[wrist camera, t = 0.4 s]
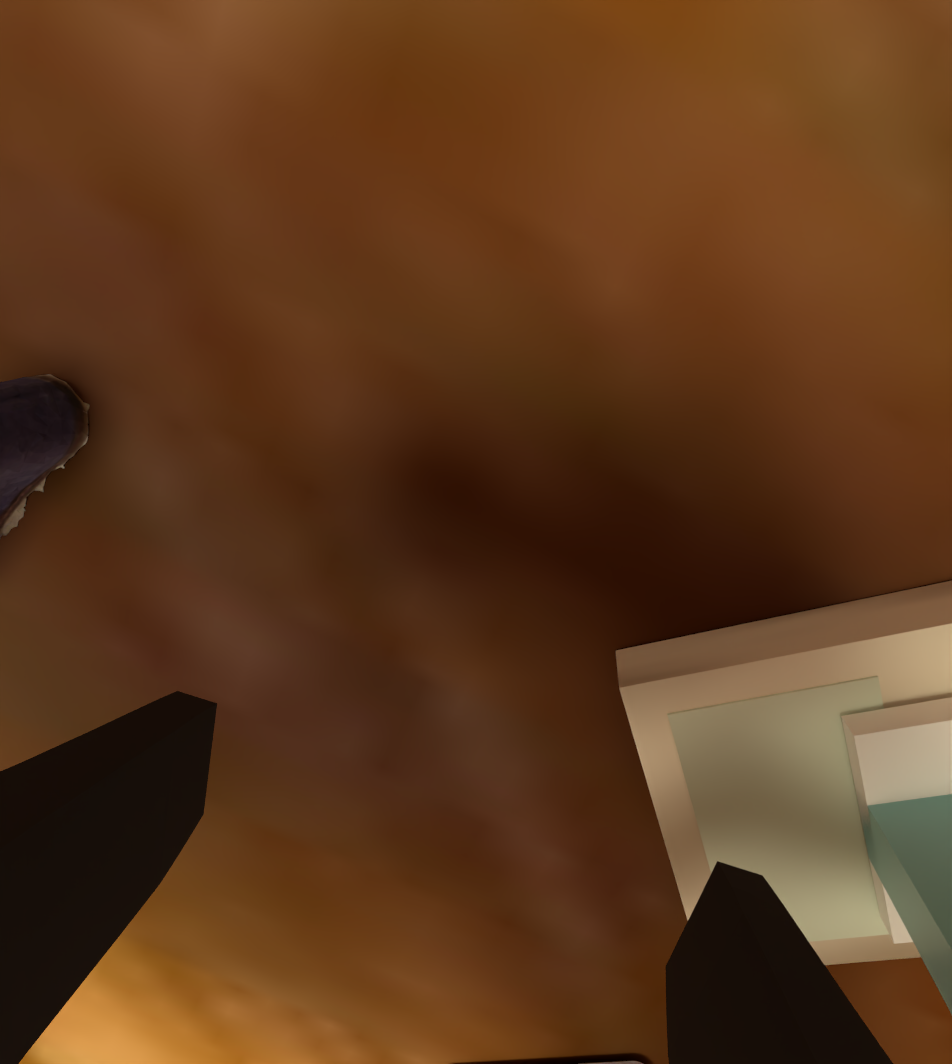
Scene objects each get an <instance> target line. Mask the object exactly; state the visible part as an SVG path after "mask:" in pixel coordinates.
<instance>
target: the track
mask: <svg viewBox="0 0 952 1064" xmlns="http://www.w3.org/2000/svg"><path fill="white" fill-rule="evenodd" d="M616 662H617V672H618V682H619V689H620V693H621V696H622V699H623V703H624V706H625V710H626V713H627V716H628V720H629V723H630V727H631V730H632V733H633V737H634V740H635V744H636V747H637V750H638V754H639V757H640V761H641V764H642V767H643V771H644V774H645V777H646V781H647V784H648V788H649V791H650V794H651V798H652V801H653V805H654V808H655V811H656V815H657V818H658V822H659V825H660V828H661V832H662V835H663V839H664V842H665V845H666V849H667V852H668V856H669V859H670V862H671V866H672V869H673V872H674V876H675V879H676V883H677V886H678V889H679V893H680V896H681V900H682V903H683V906H684V910H685V913H686V917H687V920H689V918H690V916H691V914H692V912H693V910H694V908H695V906H696V904H697V902H698V900H699V897H700V895H701V893H702V891H703V889H704V887H705V885H706V883H707V881H708V879H709V877H710V875H711V873H712V871H713V869H714V867H715V865H716V863H717V861H719V862H722V863H725V864H728V865H731V866H734V867H738V868H741V869H744V870H747V871H750V872H754V873H757V874H760V875H763V877H764V878H765V879H766V881H767V882H768V884H769V885H770V886H771V888H772V889H773V890H774V892H775V893H776V895H777V896H778V898H779V899H780V900H781V902H782V903H783V905H784V906H785V908H786V909H787V911H788V912H789V914H790V915H791V916H792V918H793V919H794V921H795V922H796V924H797V925H798V927H799V928H800V930H801V931H802V933H803V934H804V936H805V937H806V939H807V940H808V942H809V943H810V944H811V946H812V947H813V949H814V950H815V952H816V953H817V955H818V956H819V958H820V959H821V961H822V962H823V964H824V965H833V964H844V963H856V962H868V961H880V960H892V959H904V958H916V957H921V956H920V954H919V952H918V950H917V948H916V946H915V944H914V942H909V943H897V944H894V943H893V941H892V939H891V937H890V935H889V933H888V931H887V929H886V927H885V925H884V923H883V921H882V919H881V917H880V913H879V907H878V902H877V897H876V892H875V887H874V882H873V877H872V872H871V867H870V861H869V856H868V851H867V846H866V841H865V836H864V831H863V826H862V821H861V815H860V810H859V805H858V800H857V795H856V790H855V785H854V780H853V775H852V769H851V764H850V759H849V754H848V749H847V744H846V739H845V734H844V729H843V723H842V718H841V716H844V715H850V714H856V713H862V712H868V711H874V710H880V709H885V708H891V707H897V706H903V705H909V704H915V703H921V702H927V701H933V700H939V699H944V698H950V697H952V581H947V582H942V583H937V584H933V585H928V586H923V587H918V588H913V589H909V590H904V591H899V592H894V593H889V594H885V595H880V596H875V597H870V598H865V599H861V600H856V601H851V602H846V603H841V604H837V605H832V606H827V607H822V608H817V609H813V610H808V611H803V612H798V613H793V614H789V615H784V616H779V617H774V618H769V619H765V620H760V621H755V622H750V623H745V624H741V625H736V626H731V627H726V628H721V629H717V630H712V631H707V632H702V633H697V634H693V635H688V636H683V637H678V638H673V639H669V640H664V641H659V642H654V643H649V644H644V645H640V646H635V647H630V648H625V649H620V650H616Z"/></svg>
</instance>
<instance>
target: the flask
mask: <svg viewBox="0 0 952 1064" xmlns="http://www.w3.org/2000/svg"><path fill="white" fill-rule="evenodd" d="M89 406H90V405H89V404H87V403H84V402H83V401H82V400H81V399H80V398H79V396H78V395H77V394H76V393H75V391H73V389H72V388H71V387H70V386H69V385H68V384H67V382H65V381H63V380H60V379H58V378H56V377H54V376H53V375H50V374H47V375H37V376H32V377H23V378H19V379H14V380H10V381H5V382H0V537H1V536H2V535H4V536H6V535H7V534H8V533H9V532H10V530H11V529H12V528H13V527H17V526H18V521H19V520H20V519H21V518H22V517H23V516H24V511H26V510H25V509H24V508H23V507H25V506H26V504H25V503H26V500H27V499H26V497H27V496H29V494H30V493H32V492H33V491H34V490H35V491H42V492H44V491H43V486H44V485H45V480H46V476H47V475H48V474H49V473H50V472H51V471H53V470H56V469H58V468H60V467H61V468H65V467H64V466H63V465H64V464H65V463H66V461H68V459H70V458H71V457H73V456H74V455H75V453H76V452H77V451H78V450H79V449H80V447H82V446H83V445H85V444H86V442H87V440H88V436H87V435H88V425H87V423H88V415H87V412H88V409H89ZM0 539H1V538H0Z"/></svg>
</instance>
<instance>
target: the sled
mask: <svg viewBox="0 0 952 1064" xmlns="http://www.w3.org/2000/svg"><path fill="white" fill-rule="evenodd" d="M841 718H842V723H843V729H844V734H845V739H846V744H847V749H848V754H849V759H850V764H851V769H852V775H853V780H854V785H855V790H856V795H857V800H858V805H859V810H860V815H861V821H862V826H863V831H864V836H865V841H866V846H867V851H868V856H869V861H870V867H871V872H872V877H873V882H874V887H875V892H876V897H877V902H878V907H879V913H880V917H881V919H882V921H883V923H884V925H885V927H886V929H887V931H888V933H889V935H890V937H891V939H892V941H893V943H894V944H897V943H909V942H914V944H915V946H916V948H917V950H918V952H919V954H920V956H921V957H922V959H923V961H924V963H925V965H926V967H927V969H928V971H929V972H930V974H931V976H932V978H933V980H934V982H935V984H936V986H937V988H938V989H939V991H940V993H941V995H942V997H943V999H944V1001H945V1003H946V1005H947V1006H948V1008H949V1010H950V1012H951V1014H952V697H950V698H944V699H939V700H933V701H927V702H921V703H915V704H909V705H903V706H897V707H891V708H885V709H880V710H874V711H868V712H862V713H856V714H850V715H844V716H841Z"/></svg>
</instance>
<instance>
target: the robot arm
mask: <svg viewBox="0 0 952 1064" xmlns="http://www.w3.org/2000/svg"><path fill="white" fill-rule="evenodd" d="M216 707H217V703H214V702H210V701H207V700H204V699H201V698H198V697H195V696H191V695H188V694H185V693H182V692H179V691H176V692H174V693H172V694H170V695H167V696H165V697H163V698H160V699H158V700H156V701H154V702H152V703H149V704H147V705H145V706H143V707H141V708H139V709H137V710H134V711H132V712H130V713H128V714H126V715H124V716H122V717H120V718H117V719H115V720H113V721H111V722H109V723H107V724H105V725H103V726H100V727H98V728H96V729H94V730H92V731H90V732H88V733H85V734H83V735H81V736H79V737H77V738H74V739H72V740H70V741H68V742H66V743H63V744H61V745H59V746H57V747H55V748H52V749H50V750H48V751H46V752H44V753H41V754H39V755H37V756H35V757H33V758H30V759H28V760H26V761H24V762H22V763H19V764H17V765H15V766H12V767H10V768H8V769H5V770H3V771H0V1064H19V1062H20V1061H21V1060H22V1058H23V1057H24V1056H25V1054H26V1053H27V1052H28V1050H29V1049H30V1048H31V1047H32V1045H33V1044H34V1043H35V1042H36V1040H37V1039H38V1038H39V1037H40V1035H41V1034H42V1033H43V1031H44V1030H45V1029H46V1028H47V1026H48V1025H49V1024H50V1023H51V1021H52V1020H53V1019H54V1018H55V1016H56V1015H57V1014H58V1013H59V1011H60V1010H61V1009H62V1007H63V1006H64V1005H65V1004H66V1002H67V1001H68V1000H69V999H70V997H71V996H72V995H73V994H74V992H75V991H76V990H77V989H78V987H79V986H80V985H81V983H82V982H83V981H84V980H85V978H86V977H87V976H88V975H89V973H90V972H91V971H92V970H93V968H94V967H95V966H96V965H97V963H98V962H99V961H100V960H101V958H102V957H103V956H104V954H105V953H106V952H107V951H108V949H109V948H110V947H111V946H112V944H113V943H114V942H115V941H116V939H117V938H118V937H119V936H120V934H121V933H122V932H123V930H124V929H125V928H126V927H127V925H128V924H129V923H130V921H131V920H132V919H133V918H134V916H135V915H136V914H137V913H138V911H139V910H140V909H141V907H142V906H143V905H144V904H145V902H146V901H147V900H148V898H149V897H150V896H151V894H152V893H153V892H154V891H155V889H156V888H157V887H158V885H159V884H160V883H161V881H162V880H163V878H164V877H165V875H166V873H167V872H168V870H169V869H170V867H171V866H172V864H173V863H174V861H175V859H176V858H177V856H178V855H179V853H180V852H181V850H182V848H183V847H184V845H185V844H186V842H187V840H188V839H189V837H190V835H191V834H192V832H193V830H194V829H195V827H196V826H197V824H198V822H199V821H200V819H201V817H202V816H203V813H204V805H205V796H206V788H207V780H208V772H209V764H210V756H211V748H212V740H213V731H214V723H215V715H216ZM666 1010H667V1038H668V1057H669V1064H893V1063H892V1061H891V1060H890V1059H889V1057H888V1056H887V1054H886V1053H885V1052H884V1050H883V1049H882V1047H881V1046H880V1045H879V1043H878V1042H877V1040H876V1039H875V1037H874V1036H873V1035H872V1033H871V1032H870V1030H869V1029H868V1027H867V1026H866V1025H865V1023H864V1022H863V1020H862V1019H861V1017H860V1016H859V1015H858V1013H857V1012H856V1010H855V1009H854V1007H853V1006H852V1004H851V1003H850V1002H849V1000H848V999H847V997H846V996H845V994H844V993H843V991H842V990H841V989H840V987H839V986H838V984H837V983H836V981H835V980H834V978H833V977H832V975H831V974H830V972H829V971H828V969H827V968H826V967H825V965H824V964H823V962H822V961H821V959H820V958H819V956H818V955H817V953H816V952H815V950H814V949H813V947H812V946H811V944H810V943H809V942H808V940H807V939H806V937H805V936H804V934H803V933H802V931H801V930H800V928H799V927H798V925H797V924H796V922H795V921H794V919H793V918H792V916H791V915H790V914H789V912H788V911H787V909H786V908H785V906H784V905H783V903H782V902H781V900H780V899H779V898H778V896H777V895H776V893H775V892H774V890H773V889H772V888H771V886H770V885H769V884H768V882H767V881H766V879H765V878H764V877H763V875H760V874H757V873H754V872H750V871H747V870H744V869H741V868H738V867H734V866H731V865H728V864H725V863H722V862H719V861H717V863H716V865H715V867H714V869H713V871H712V873H711V875H710V877H709V879H708V881H707V883H706V885H705V887H704V889H703V891H702V893H701V895H700V897H699V900H698V902H697V904H696V906H695V908H694V910H693V912H692V914H691V916H690V918H689V920H688V922H687V924H686V926H685V928H684V930H683V932H682V934H681V936H680V938H679V940H678V942H677V945H676V947H675V949H674V951H673V953H672V955H671V957H670V959H669V961H668V963H667V965H666ZM580 1064H643V1063H642V1062H639V1061H616V1062H598V1063H580Z"/></svg>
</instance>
